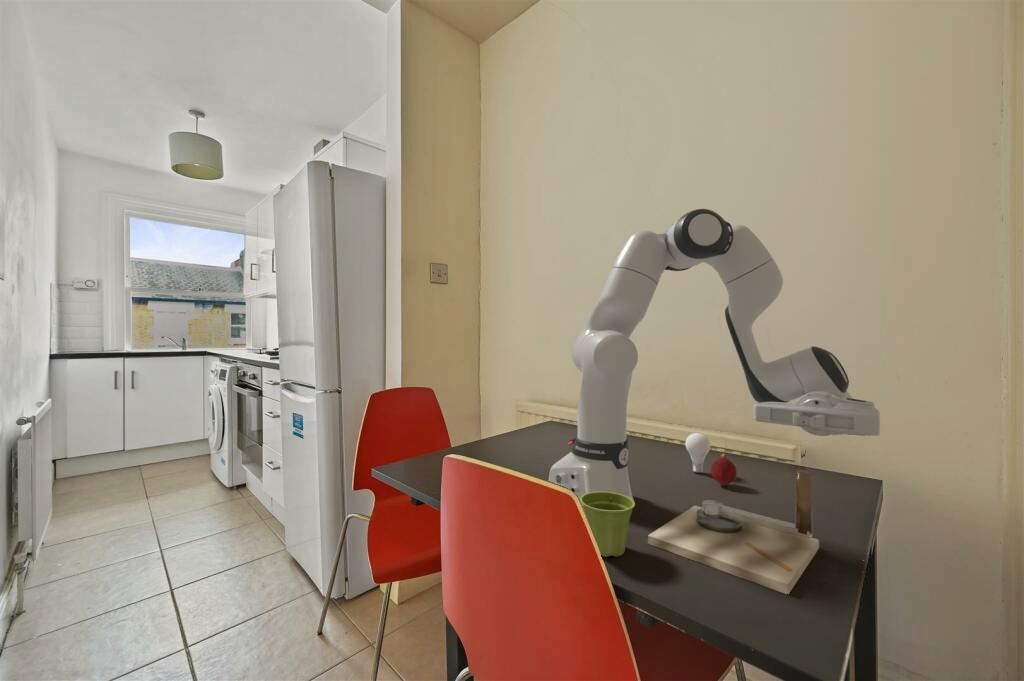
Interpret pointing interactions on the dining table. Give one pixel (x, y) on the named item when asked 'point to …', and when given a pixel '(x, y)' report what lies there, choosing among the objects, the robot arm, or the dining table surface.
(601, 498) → the plant pot
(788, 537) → the stand
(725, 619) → the dining table surface
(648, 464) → the dining table surface
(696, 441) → the lightbulb
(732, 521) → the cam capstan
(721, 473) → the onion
